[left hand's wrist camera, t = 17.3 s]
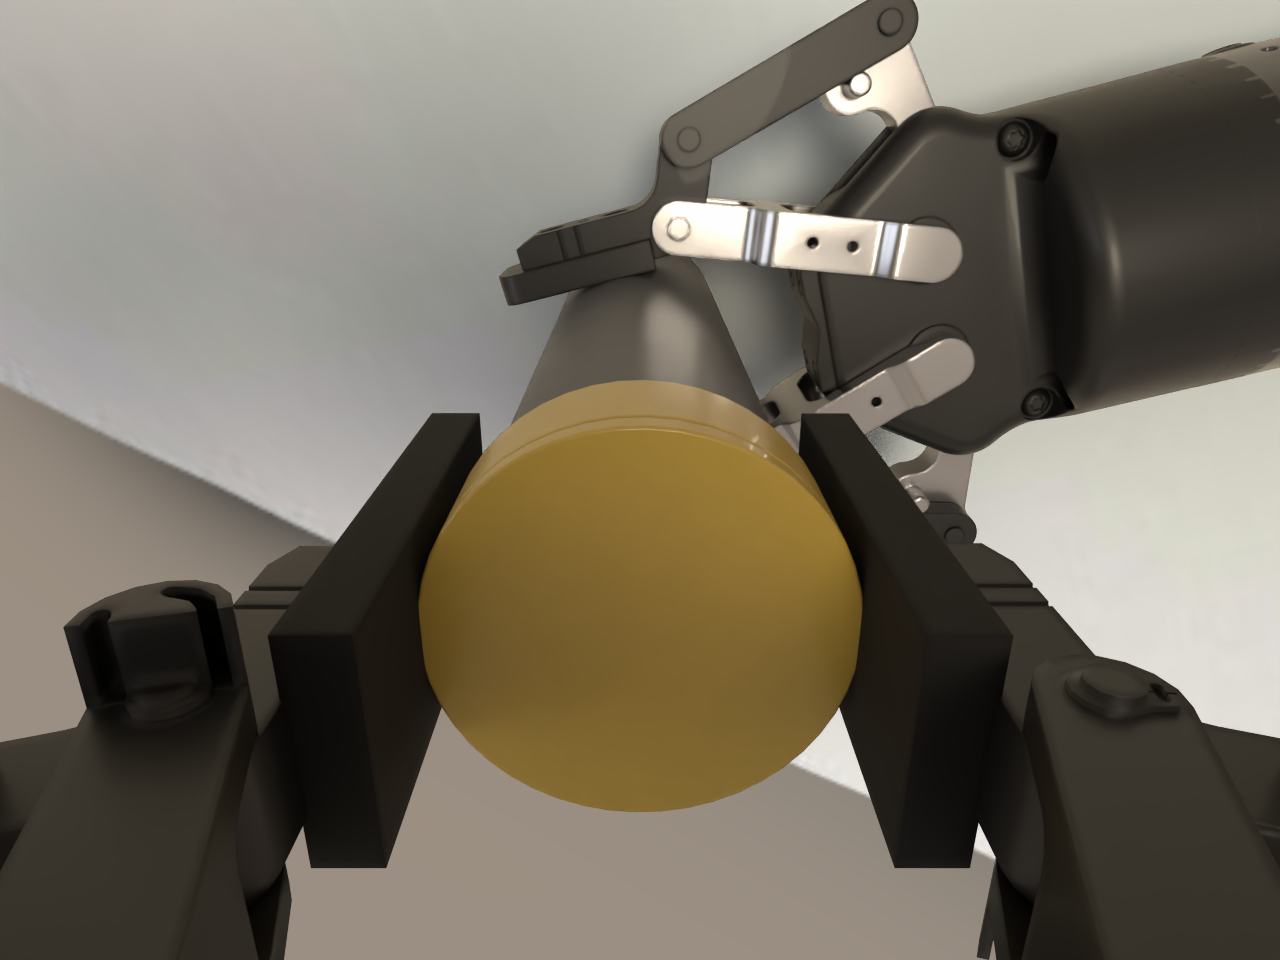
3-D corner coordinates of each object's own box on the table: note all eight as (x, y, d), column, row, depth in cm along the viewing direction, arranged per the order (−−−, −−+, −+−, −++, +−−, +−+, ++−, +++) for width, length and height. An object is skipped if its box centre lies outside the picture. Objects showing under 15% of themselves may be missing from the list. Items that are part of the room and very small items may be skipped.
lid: (399, 644, 12) (358, 730, 11) (532, 310, 10) (511, 347, 9) (727, 764, 13) (740, 863, 11) (901, 473, 11) (951, 536, 10)
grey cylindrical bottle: (726, 254, 27) (879, 469, 10) (694, 394, 29) (776, 785, 12) (581, 224, 27) (474, 392, 10) (557, 367, 29) (430, 730, 11)
